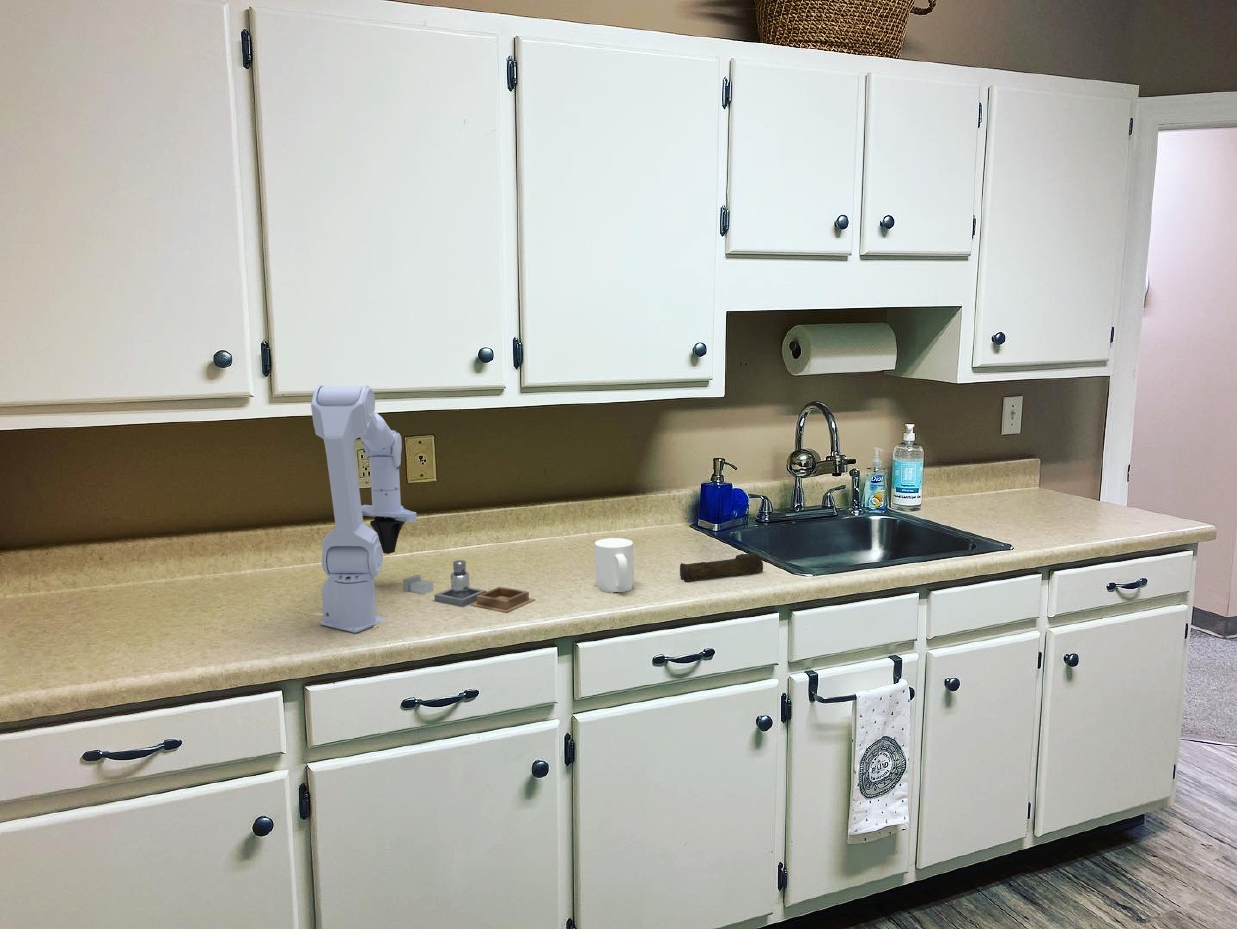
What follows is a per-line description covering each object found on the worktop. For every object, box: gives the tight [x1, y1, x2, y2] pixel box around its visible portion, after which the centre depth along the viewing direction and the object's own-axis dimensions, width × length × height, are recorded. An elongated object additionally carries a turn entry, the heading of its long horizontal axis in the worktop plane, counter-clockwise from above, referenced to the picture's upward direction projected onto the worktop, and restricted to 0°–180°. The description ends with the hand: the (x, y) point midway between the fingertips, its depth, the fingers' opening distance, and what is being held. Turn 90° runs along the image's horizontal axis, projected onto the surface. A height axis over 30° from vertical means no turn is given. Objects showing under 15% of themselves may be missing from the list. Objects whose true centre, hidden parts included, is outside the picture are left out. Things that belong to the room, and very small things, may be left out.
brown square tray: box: [469, 586, 536, 614], centre depth 187 cm, size 9×9×2 cm
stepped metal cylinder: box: [450, 559, 471, 599], centre depth 189 cm, size 4×4×8 cm
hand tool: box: [679, 552, 764, 582], centre depth 205 cm, size 19×4×5 cm, turn 106°
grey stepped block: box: [402, 574, 435, 595], centre depth 195 cm, size 5×4×3 cm
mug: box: [594, 537, 635, 593], centre depth 197 cm, size 12×9×8 cm
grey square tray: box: [432, 587, 487, 608], centre depth 190 cm, size 8×8×2 cm
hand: (389, 552), depth 198 cm, fingers closed
